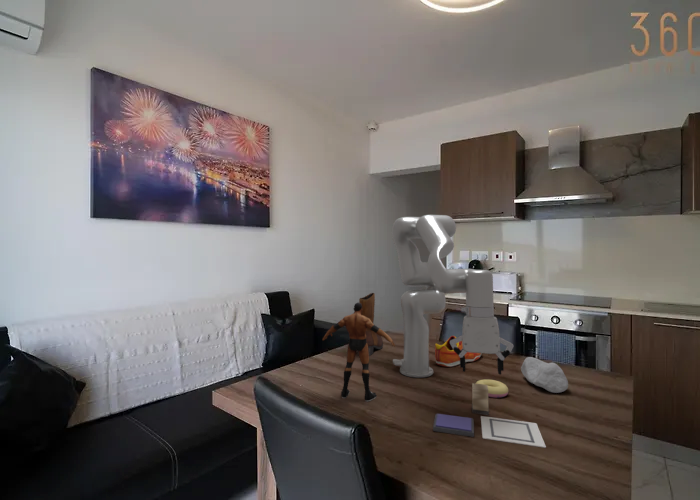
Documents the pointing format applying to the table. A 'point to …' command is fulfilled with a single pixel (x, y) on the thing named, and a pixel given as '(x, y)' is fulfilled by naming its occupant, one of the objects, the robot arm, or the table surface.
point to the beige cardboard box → (480, 399)
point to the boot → (368, 311)
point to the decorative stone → (544, 375)
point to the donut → (494, 388)
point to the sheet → (511, 431)
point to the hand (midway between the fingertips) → (481, 371)
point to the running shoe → (452, 354)
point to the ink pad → (454, 425)
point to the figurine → (357, 346)
